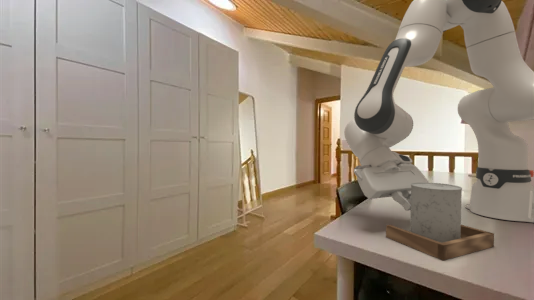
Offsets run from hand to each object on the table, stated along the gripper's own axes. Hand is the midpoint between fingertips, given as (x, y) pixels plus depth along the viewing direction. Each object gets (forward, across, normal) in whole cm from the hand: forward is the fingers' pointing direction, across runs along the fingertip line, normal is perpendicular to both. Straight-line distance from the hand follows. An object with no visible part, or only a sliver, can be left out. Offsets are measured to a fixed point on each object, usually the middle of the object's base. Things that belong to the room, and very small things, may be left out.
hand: (412, 208), depth 63 cm
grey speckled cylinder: (+8, 0, 0) cm, 8 cm away
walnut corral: (+8, 0, 0) cm, 8 cm away
